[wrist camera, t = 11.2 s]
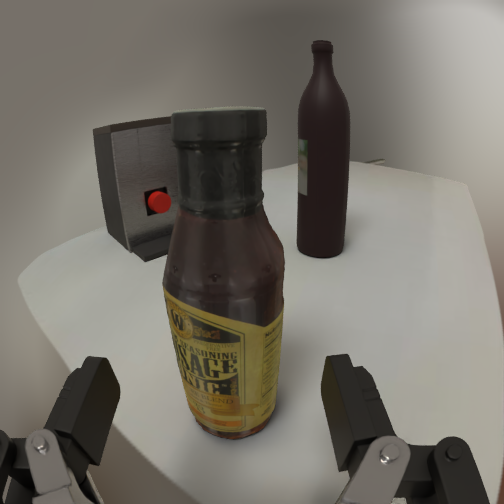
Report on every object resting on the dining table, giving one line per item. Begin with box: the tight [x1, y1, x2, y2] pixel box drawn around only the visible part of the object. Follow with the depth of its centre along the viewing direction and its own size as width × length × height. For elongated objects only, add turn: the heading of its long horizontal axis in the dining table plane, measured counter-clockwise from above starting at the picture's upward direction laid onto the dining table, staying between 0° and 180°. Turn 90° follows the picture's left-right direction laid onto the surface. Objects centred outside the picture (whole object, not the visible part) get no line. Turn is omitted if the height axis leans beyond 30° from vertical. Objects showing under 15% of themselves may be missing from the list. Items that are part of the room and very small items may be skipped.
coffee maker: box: [93, 116, 179, 262], centre depth 49 cm, size 18×12×20 cm, turn 42°
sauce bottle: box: [162, 107, 285, 439], centre depth 16 cm, size 6×6×20 cm
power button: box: [148, 191, 171, 213], centre depth 46 cm, size 2×3×3 cm, turn 132°
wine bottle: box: [297, 40, 350, 257], centre depth 39 cm, size 7×7×30 cm
